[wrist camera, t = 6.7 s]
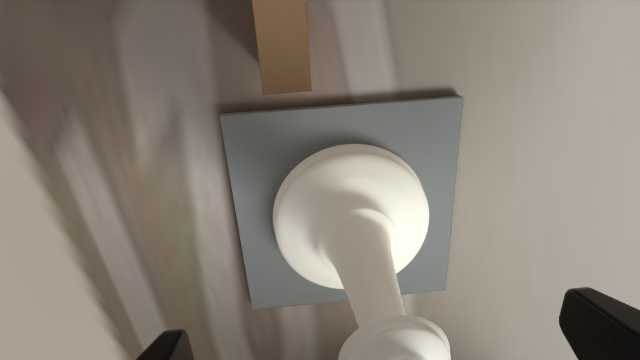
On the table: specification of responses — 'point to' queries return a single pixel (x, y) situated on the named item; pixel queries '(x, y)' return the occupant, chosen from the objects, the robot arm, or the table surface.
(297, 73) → the wooden frame
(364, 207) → the chess piece
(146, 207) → the table surface
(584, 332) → the robot arm
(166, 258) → the table surface
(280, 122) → the pad
